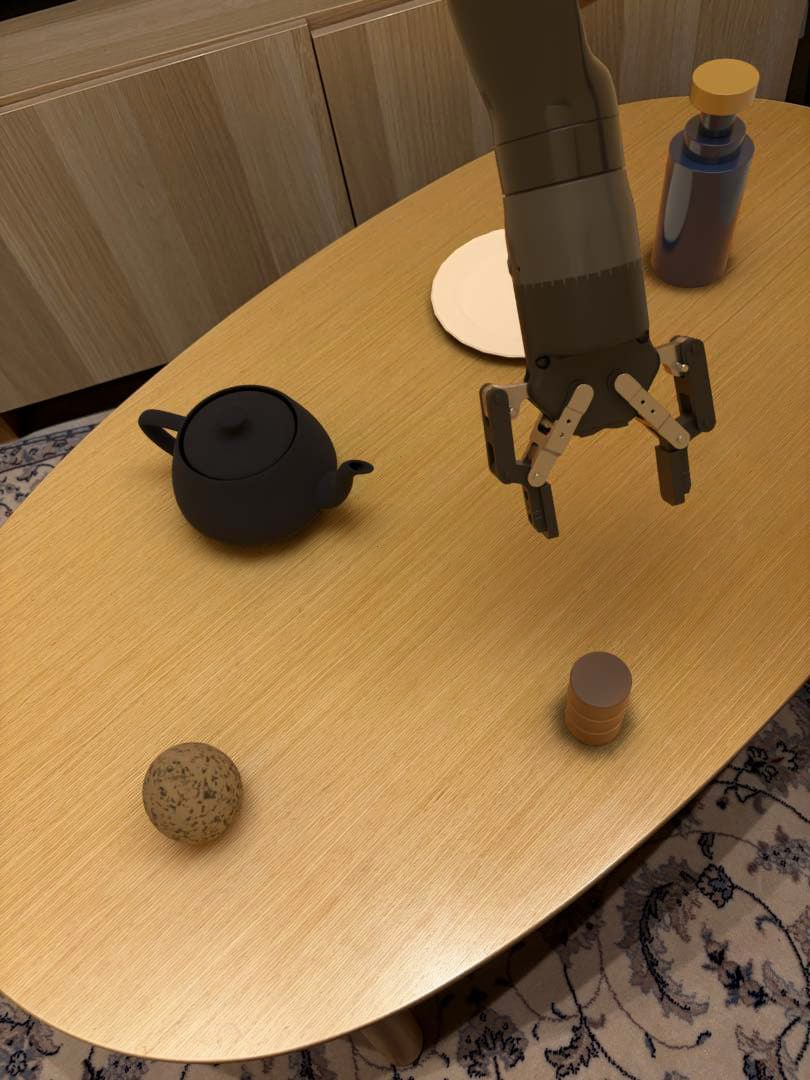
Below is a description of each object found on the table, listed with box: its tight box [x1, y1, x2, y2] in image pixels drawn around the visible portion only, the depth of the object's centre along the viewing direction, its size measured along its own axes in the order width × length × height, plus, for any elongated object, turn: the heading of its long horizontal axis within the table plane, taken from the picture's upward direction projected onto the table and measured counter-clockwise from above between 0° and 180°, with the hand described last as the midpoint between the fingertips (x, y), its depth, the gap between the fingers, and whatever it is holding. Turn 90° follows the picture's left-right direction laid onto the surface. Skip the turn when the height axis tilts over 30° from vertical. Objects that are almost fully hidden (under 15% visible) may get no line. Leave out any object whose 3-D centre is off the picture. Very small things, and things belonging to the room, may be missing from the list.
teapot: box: [137, 384, 375, 548], centre depth 80 cm, size 25×16×12 cm, turn 67°
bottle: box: [650, 58, 760, 289], centre depth 87 cm, size 8×8×21 cm
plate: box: [430, 228, 526, 359], centre depth 95 cm, size 21×21×2 cm
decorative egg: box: [141, 741, 244, 845], centre depth 64 cm, size 7×7×10 cm
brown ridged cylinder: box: [564, 650, 633, 746], centre depth 66 cm, size 4×4×8 cm
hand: (612, 518), depth 56 cm, fingers open, 8 cm apart
